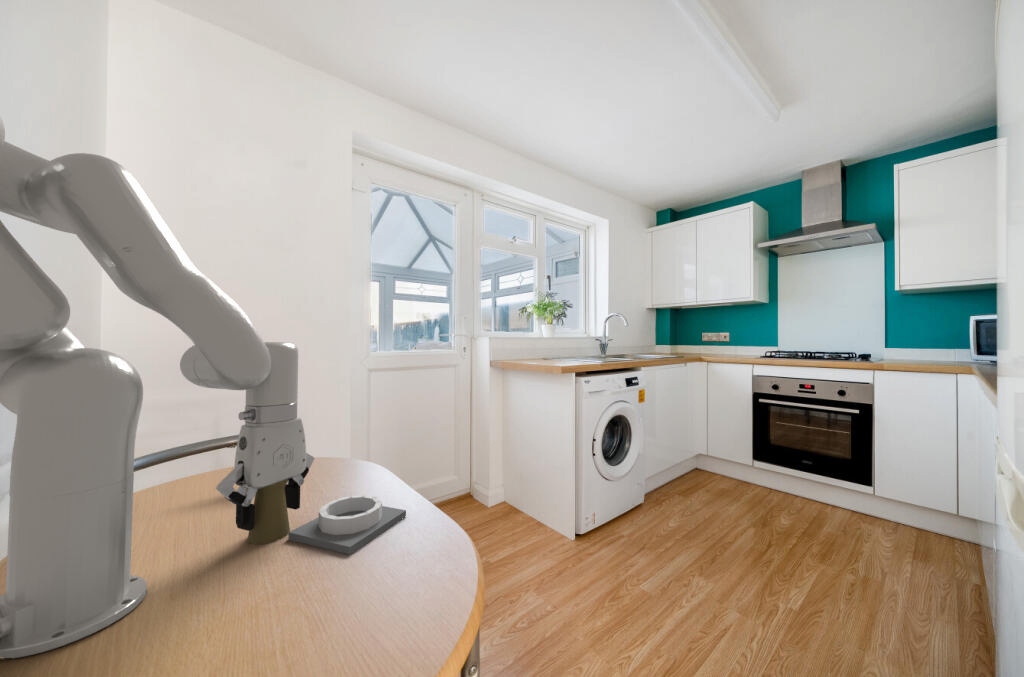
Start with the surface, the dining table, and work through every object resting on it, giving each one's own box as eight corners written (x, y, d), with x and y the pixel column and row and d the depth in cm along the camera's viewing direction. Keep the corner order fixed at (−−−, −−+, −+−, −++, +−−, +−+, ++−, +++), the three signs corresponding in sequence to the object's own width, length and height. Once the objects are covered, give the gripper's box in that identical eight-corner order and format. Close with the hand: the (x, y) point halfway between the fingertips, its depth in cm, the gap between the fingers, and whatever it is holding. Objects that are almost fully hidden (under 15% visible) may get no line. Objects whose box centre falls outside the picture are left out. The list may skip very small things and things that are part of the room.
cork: (297, 527, 66) (299, 464, 66) (272, 545, 60) (274, 476, 60) (266, 525, 67) (267, 463, 67) (238, 543, 61) (239, 474, 61)
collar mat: (350, 554, 57) (350, 530, 57) (288, 539, 62) (288, 517, 62) (405, 516, 70) (406, 496, 70) (351, 506, 75) (352, 487, 75)
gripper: (233, 425, 54) (231, 547, 54) (329, 407, 71) (328, 501, 70) (200, 421, 57) (197, 538, 57) (300, 405, 73) (298, 495, 73)
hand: (270, 517), depth 63 cm, fingers open, 7 cm apart
